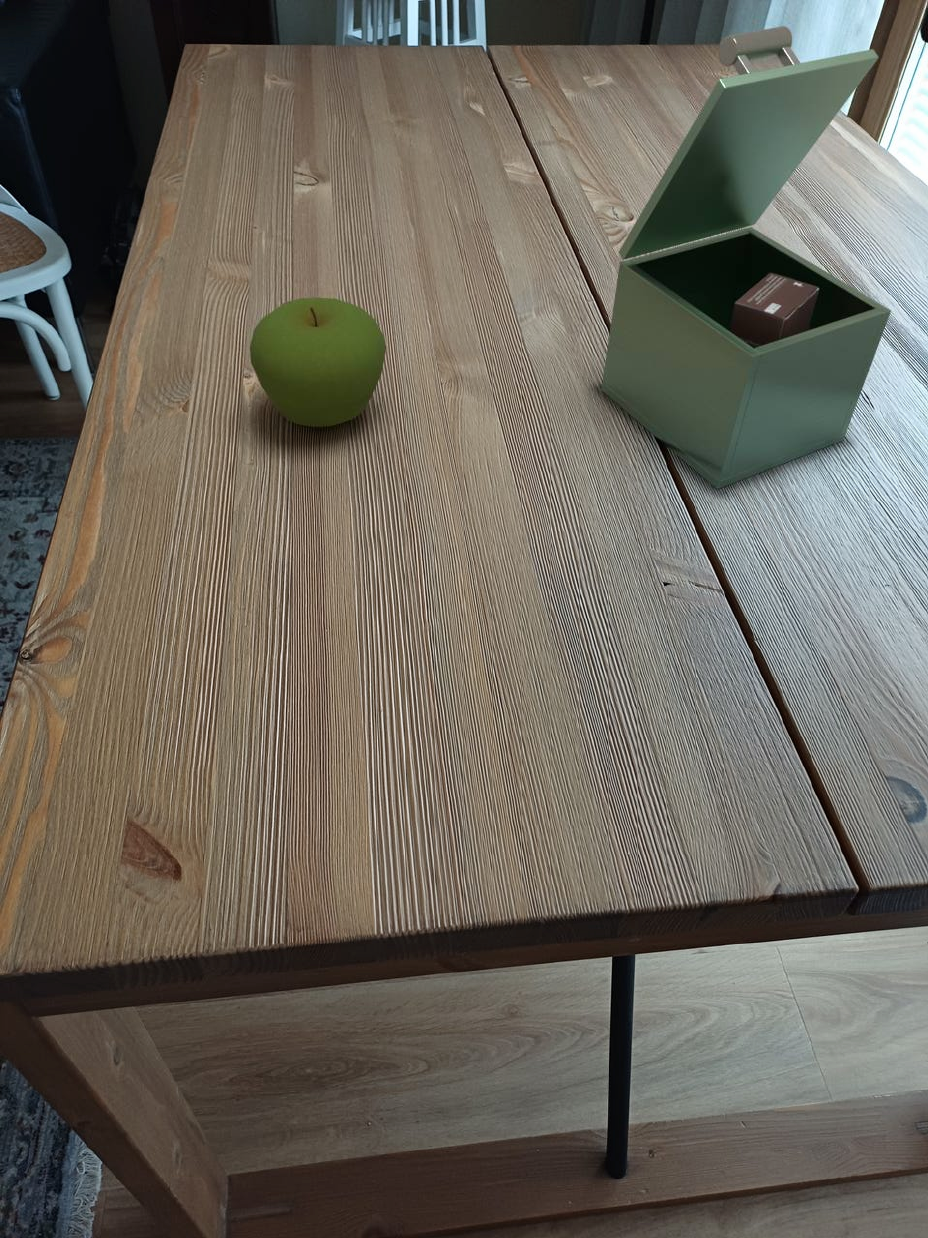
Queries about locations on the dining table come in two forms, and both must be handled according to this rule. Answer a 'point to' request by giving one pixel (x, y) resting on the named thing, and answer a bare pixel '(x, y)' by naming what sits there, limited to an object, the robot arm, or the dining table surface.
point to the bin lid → (745, 140)
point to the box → (773, 310)
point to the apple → (318, 360)
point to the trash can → (735, 356)
